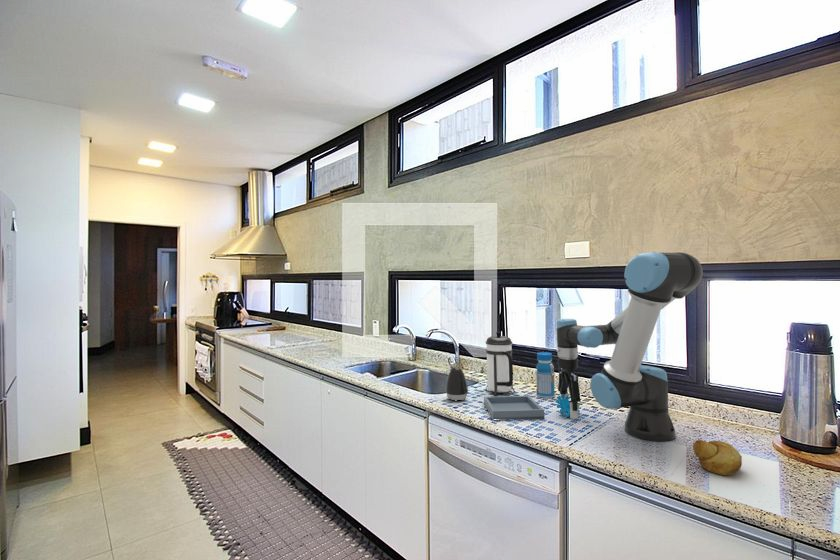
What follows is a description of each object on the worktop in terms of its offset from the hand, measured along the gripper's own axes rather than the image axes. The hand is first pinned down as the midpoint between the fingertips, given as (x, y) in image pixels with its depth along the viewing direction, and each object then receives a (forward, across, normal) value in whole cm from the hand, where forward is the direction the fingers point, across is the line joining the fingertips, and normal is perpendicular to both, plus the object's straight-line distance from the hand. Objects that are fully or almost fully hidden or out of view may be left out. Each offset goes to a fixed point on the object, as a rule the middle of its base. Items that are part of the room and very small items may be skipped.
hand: (569, 414), depth 155 cm
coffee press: (+1, -35, -19) cm, 40 cm away
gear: (+1, 0, 0) cm, 1 cm away
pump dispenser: (+1, -26, -42) cm, 49 cm away
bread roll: (+1, +46, +24) cm, 52 cm away
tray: (0, -7, -21) cm, 22 cm away
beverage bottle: (+1, -28, 0) cm, 28 cm away
